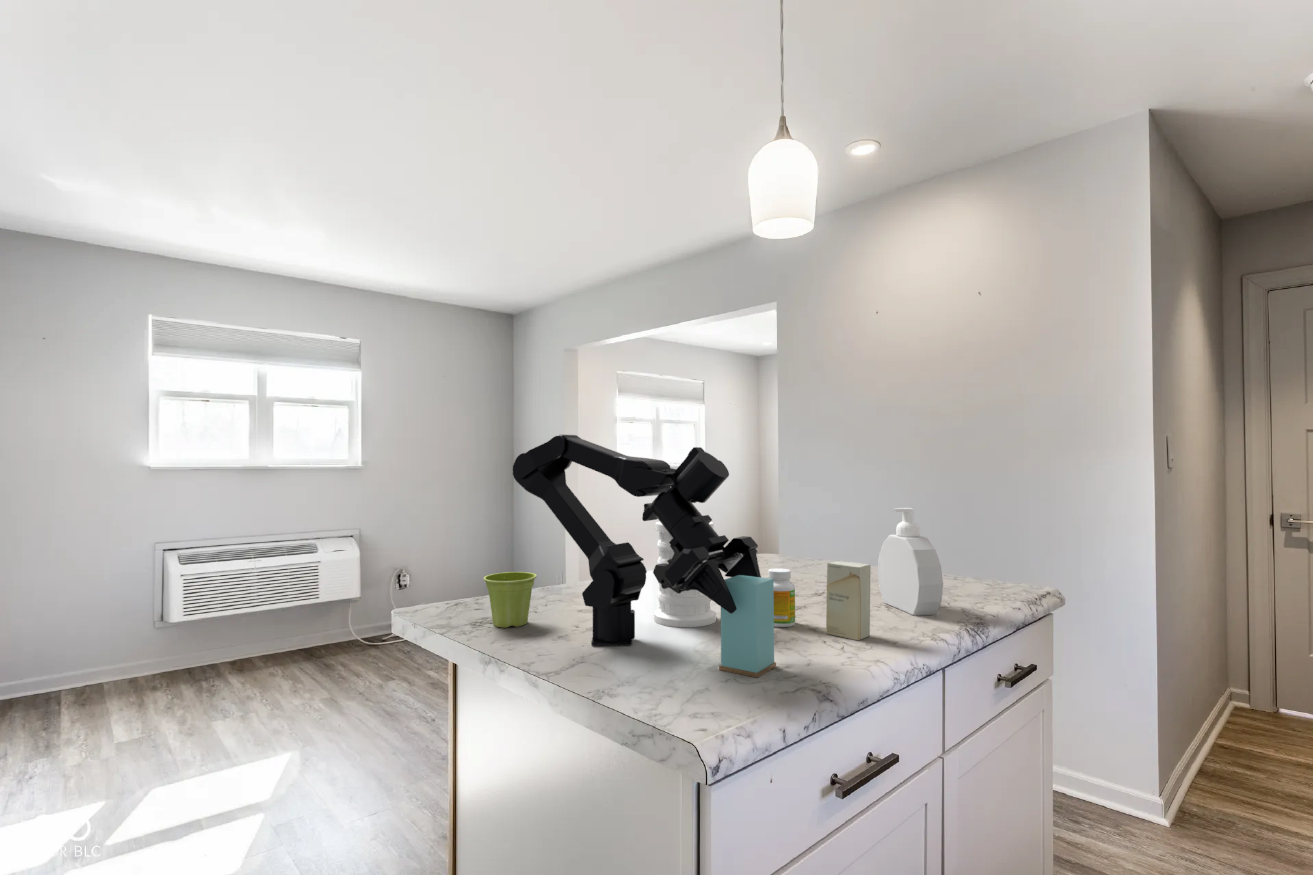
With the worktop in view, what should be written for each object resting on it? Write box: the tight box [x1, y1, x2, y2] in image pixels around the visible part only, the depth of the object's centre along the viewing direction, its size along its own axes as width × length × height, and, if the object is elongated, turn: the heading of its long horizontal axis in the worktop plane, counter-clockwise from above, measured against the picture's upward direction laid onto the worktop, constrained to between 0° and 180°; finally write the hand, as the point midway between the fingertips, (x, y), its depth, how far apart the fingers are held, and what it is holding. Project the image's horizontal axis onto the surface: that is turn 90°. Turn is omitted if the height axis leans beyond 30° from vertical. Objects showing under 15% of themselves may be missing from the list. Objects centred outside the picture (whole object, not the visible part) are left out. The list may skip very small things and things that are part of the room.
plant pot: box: [483, 571, 538, 629], centre depth 121 cm, size 9×9×9 cm
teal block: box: [720, 575, 775, 673], centre depth 96 cm, size 6×6×12 cm
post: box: [718, 661, 777, 678], centre depth 96 cm, size 6×6×4 cm
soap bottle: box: [877, 507, 944, 616], centre depth 133 cm, size 16×5×20 cm, turn 10°
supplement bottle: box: [767, 567, 796, 628], centre depth 121 cm, size 5×5×10 cm
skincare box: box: [825, 560, 872, 641], centre depth 113 cm, size 6×4×12 cm
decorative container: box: [653, 520, 717, 628], centre depth 125 cm, size 12×12×18 cm
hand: (749, 605), depth 96 cm, fingers open, 9 cm apart
